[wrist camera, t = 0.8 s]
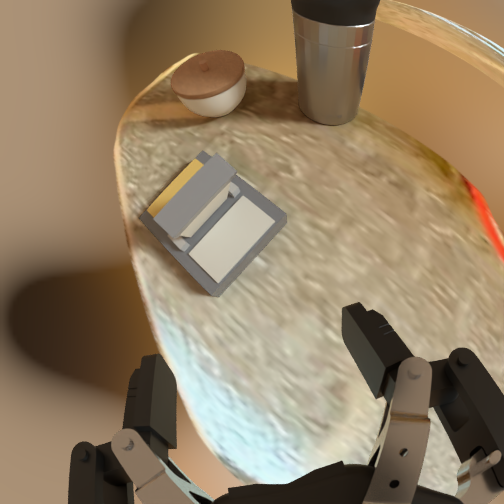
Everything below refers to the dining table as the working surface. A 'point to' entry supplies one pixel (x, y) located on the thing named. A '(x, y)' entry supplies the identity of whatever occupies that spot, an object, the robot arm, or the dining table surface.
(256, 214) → the switch unit
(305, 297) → the dining table surface
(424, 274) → the dining table surface
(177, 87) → the lidded jar
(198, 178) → the lever
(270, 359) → the dining table surface
